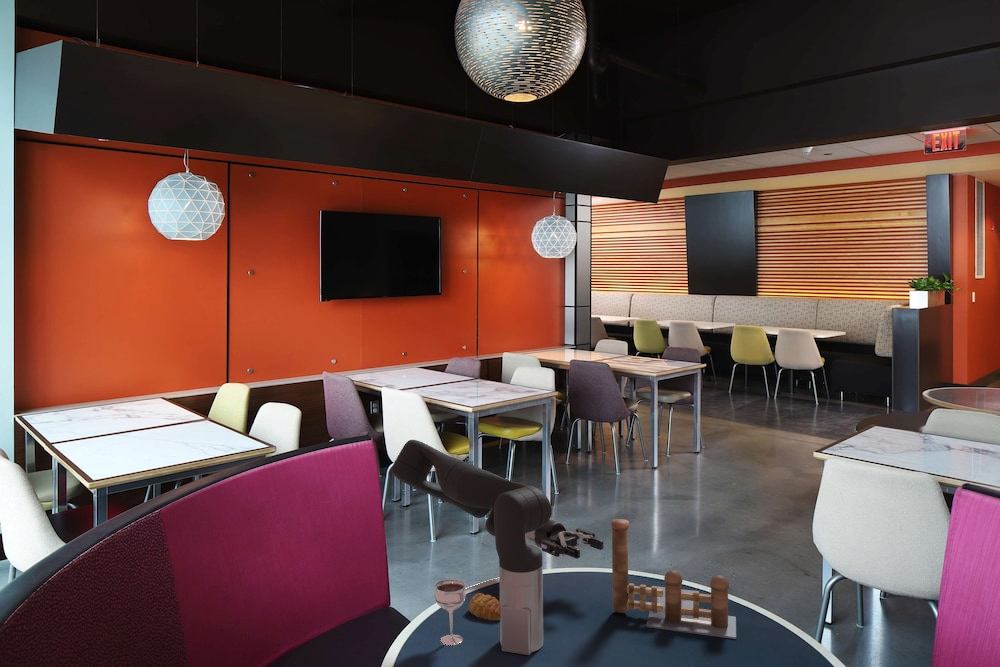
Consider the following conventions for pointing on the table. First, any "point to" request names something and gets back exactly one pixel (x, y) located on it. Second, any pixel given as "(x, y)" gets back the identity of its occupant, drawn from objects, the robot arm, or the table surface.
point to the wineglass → (450, 604)
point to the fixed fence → (696, 600)
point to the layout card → (690, 622)
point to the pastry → (485, 607)
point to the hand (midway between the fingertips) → (590, 549)
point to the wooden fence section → (621, 576)
